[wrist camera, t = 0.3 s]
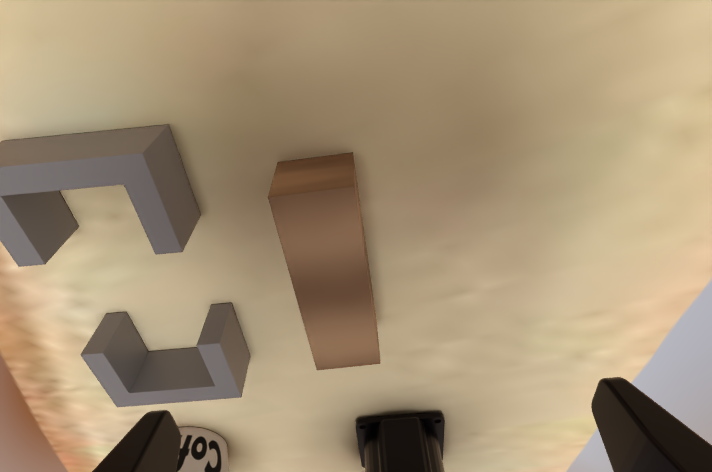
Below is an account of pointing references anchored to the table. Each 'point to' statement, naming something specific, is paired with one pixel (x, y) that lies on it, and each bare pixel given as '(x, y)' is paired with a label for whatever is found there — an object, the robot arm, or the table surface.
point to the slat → (327, 257)
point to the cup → (202, 451)
